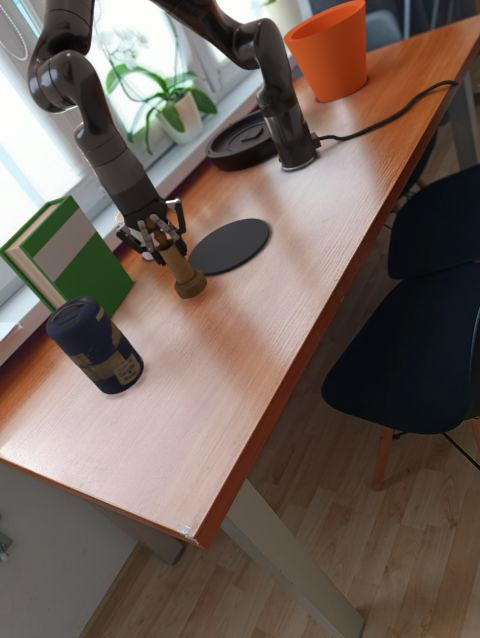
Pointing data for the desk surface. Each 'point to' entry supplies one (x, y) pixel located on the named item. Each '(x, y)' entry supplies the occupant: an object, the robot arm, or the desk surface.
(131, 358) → the canister
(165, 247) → the brown wooden turned piece
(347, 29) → the flowerpot
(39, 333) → the desk surface
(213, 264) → the disc
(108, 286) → the hardback book
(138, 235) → the white cup
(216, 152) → the black round plastic slab
